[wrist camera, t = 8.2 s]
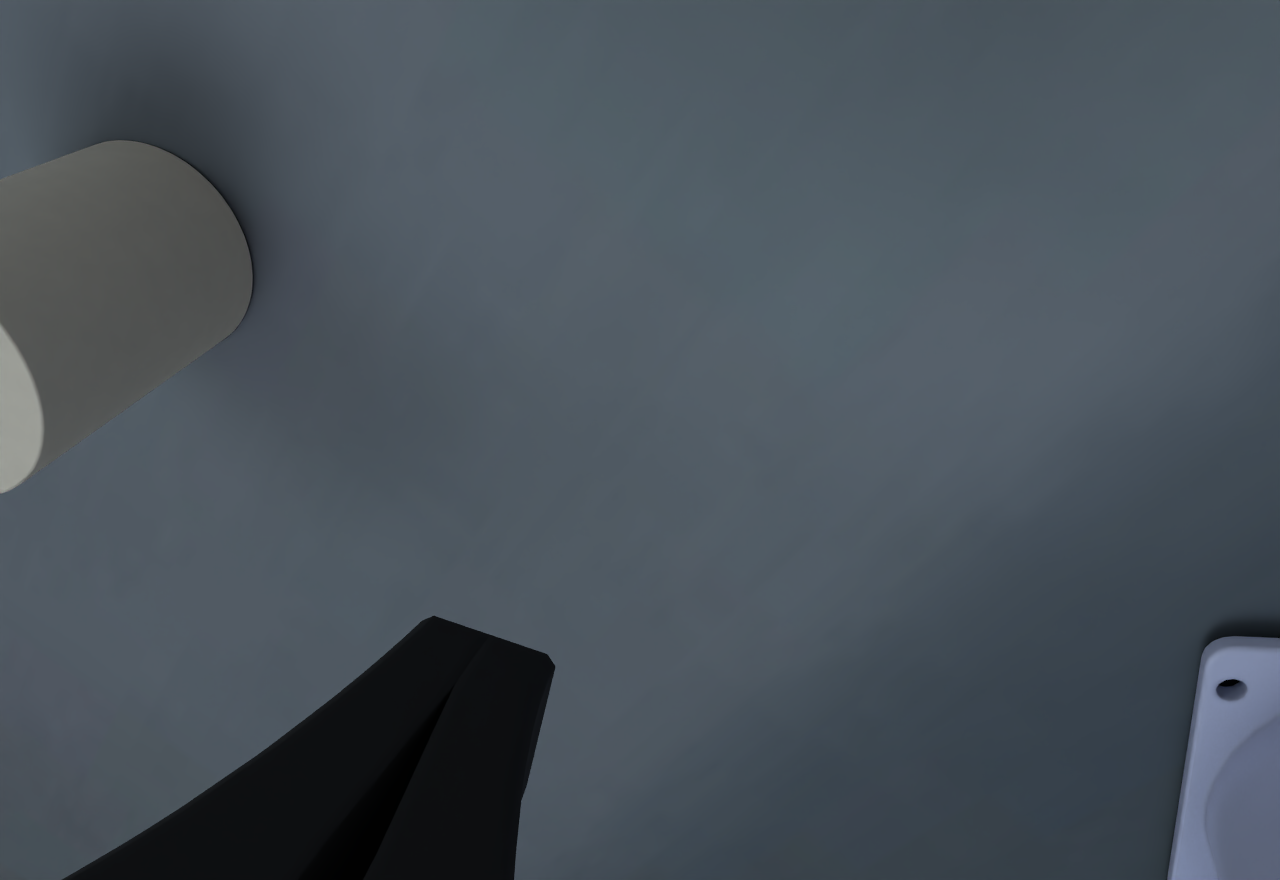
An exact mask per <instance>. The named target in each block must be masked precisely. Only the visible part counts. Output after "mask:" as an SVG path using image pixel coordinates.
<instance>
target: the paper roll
mask: <svg viewBox="0 0 1280 880" xmlns="http://www.w3.org/2000/svg"><path fill="white" fill-rule="evenodd" d="M252 282H253V274H252V263H251V258H250V253H249V249H248V246H247V242H246V239H245V236H244V234H243V232H242V229H241V227H240V225H239V223H238V221H237V219H236V217H235V216H234V214H233V212H232V210H231V209H230V207H229V206H228V204H227V203H226V201H225V200H224V199H223V197H222V196H221V195H220V193H219V192H218V191H217V190H216V189H215V188H214V187H213V185H212V184H211V183H210V182H209V181H208V180H207V179H206V178H205V177H203V176H202V175H201V174H200V173H199V172H198V171H197V170H195V169H194V168H193V167H191V166H190V165H189V164H188V163H186V162H185V161H183V160H181V159H180V158H178V157H176V156H175V155H173V154H171V153H169V152H167V151H165V150H163V149H160V148H158V147H155V146H152V145H149V144H145V143H140V142H135V141H126V140H115V141H106V142H102V143H99V144H95V145H92V146H90V147H87V148H84V149H82V150H79V151H76V152H73V153H71V154H68V155H65V156H63V157H60V158H57V159H54V160H52V161H49V162H46V163H44V164H41V165H38V166H35V167H33V168H30V169H27V170H25V171H22V172H19V173H16V174H14V175H11V176H8V177H6V178H3V179H0V494H1V493H4V492H7V491H10V490H12V489H13V488H15V487H17V486H19V485H20V484H22V483H23V482H24V481H26V480H27V479H29V478H30V477H31V476H33V475H34V474H36V473H37V472H38V471H40V470H41V469H43V468H44V467H46V466H47V465H48V464H50V463H51V462H53V461H54V460H55V459H57V458H58V457H60V456H61V455H62V454H64V453H65V452H67V451H68V450H69V449H71V448H72V447H74V446H75V445H76V444H78V443H79V442H81V441H82V440H83V439H85V438H86V437H88V436H89V435H90V434H92V433H93V432H95V431H96V430H97V429H99V428H100V427H102V426H103V425H104V424H106V423H107V422H109V421H110V420H112V419H113V418H114V417H116V416H117V415H119V414H120V413H121V412H123V411H124V410H126V409H127V408H128V407H130V406H131V405H133V404H134V403H135V402H137V401H138V400H140V399H141V398H142V397H144V396H145V395H147V394H148V393H149V392H151V391H152V390H154V389H155V388H156V387H158V386H159V385H161V384H162V383H163V382H165V381H166V380H168V379H169V378H170V377H172V376H173V375H175V374H176V373H178V372H179V371H180V370H182V369H183V368H185V367H186V366H187V365H189V364H190V363H192V362H193V361H194V360H196V359H197V358H199V357H200V356H201V355H203V354H204V353H206V352H207V351H208V350H210V349H211V348H213V347H214V346H215V345H217V344H218V343H220V342H221V341H222V340H224V339H225V338H226V337H228V336H229V335H230V334H231V333H232V332H233V331H234V330H235V329H236V328H237V326H238V325H239V324H240V323H241V321H242V319H243V317H244V315H245V314H246V311H247V308H248V305H249V303H250V298H251V293H252Z"/></svg>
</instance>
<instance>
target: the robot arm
mask: <svg viewBox="0 0 1280 880" xmlns="http://www.w3.org/2000/svg"><path fill="white" fill-rule="evenodd" d="M554 670H555V665H554V664H553V662H552V661H551V659H550V658H549V656H548V655H547V654H545V653H542V652H539V651H536V650H533V649H530V648H527V647H524V646H521V645H519V644H516V643H513V642H510V641H507V640H504V639H501V638H498V637H495V636H492V635H489V634H486V633H483V632H480V631H477V630H474V629H471V628H468V627H465V626H462V625H460V624H457V623H454V622H451V621H448V620H445V619H442V618H439V617H436V616H432V617H430V618H428V619H425V620H423V621H421V622H420V623H419V624H418V625H417V626H416V627H415V628H414V629H413V630H412V631H411V632H410V633H408V634H407V635H406V636H405V637H404V638H403V639H402V640H401V641H400V642H398V643H397V644H396V645H395V646H394V647H393V648H392V649H391V650H389V651H388V652H387V653H386V654H385V655H384V656H383V657H381V658H380V659H379V660H378V661H377V662H376V663H374V664H373V665H372V666H371V667H370V668H369V669H367V670H366V671H365V672H364V673H363V674H361V675H360V676H359V677H358V678H356V679H355V680H354V681H353V682H352V683H350V684H349V685H348V686H347V687H345V688H344V689H343V690H342V691H341V692H339V693H338V694H337V695H336V696H334V697H333V698H332V699H331V700H329V701H328V702H327V703H326V704H324V705H323V706H322V707H320V708H319V709H318V710H316V711H315V712H314V713H312V714H311V715H310V716H309V717H307V718H306V719H305V720H303V721H302V722H301V723H299V724H298V725H297V726H295V727H294V728H293V729H292V730H290V731H289V732H288V733H286V734H285V735H284V736H282V737H281V738H280V739H278V740H277V741H276V742H275V743H273V744H272V745H271V746H269V747H268V748H266V749H265V750H264V751H262V752H261V753H260V754H258V755H257V756H255V757H254V758H253V759H251V760H250V761H248V762H247V763H245V764H244V765H242V766H241V767H239V768H238V769H237V770H235V771H234V772H232V773H231V774H229V775H228V776H226V777H225V778H223V779H222V780H221V781H219V782H218V783H216V784H215V785H213V786H212V787H210V788H209V789H207V790H206V791H204V792H203V793H202V794H200V795H199V796H197V797H196V798H194V799H193V800H191V801H190V802H188V803H187V804H186V805H184V806H183V807H181V808H179V809H178V810H176V811H175V812H173V813H172V814H170V815H169V816H167V817H165V818H164V819H162V820H161V821H159V822H158V823H156V824H154V825H153V826H151V827H150V828H148V829H147V830H145V831H143V832H142V833H140V834H139V835H137V836H135V837H134V838H132V839H130V840H129V841H127V842H125V843H124V844H122V845H121V846H119V847H117V848H116V849H114V850H112V851H110V852H109V853H107V854H105V855H104V856H102V857H100V858H98V859H97V860H95V861H93V862H92V863H90V864H88V865H87V866H85V867H83V868H81V869H80V870H78V871H76V872H75V873H73V874H71V875H69V876H68V877H66V878H64V879H62V880H514V872H515V857H516V846H517V836H518V826H519V817H520V807H521V800H522V797H523V794H524V791H525V788H526V785H527V782H528V778H529V773H530V769H531V765H532V761H533V757H534V753H535V749H536V745H537V740H538V736H539V732H540V728H541V724H542V720H543V716H544V712H545V707H546V703H547V699H548V695H549V691H550V687H551V683H552V678H553V674H554ZM1230 679H1236V680H1240V682H1239V683H1237V684H1235V685H1234V686H1228V687H1223V686H1219V684H1220V683H1221V682H1223V681H1225V680H1230ZM1167 880H1280V638H1267V637H1245V636H1230V637H1222V638H1219V639H1217V640H1214V641H1212V642H1211V643H1210V644H1209V645H1208V646H1206V647H1205V649H1204V651H1203V653H1202V656H1201V662H1200V669H1199V675H1198V682H1197V688H1196V695H1195V701H1194V708H1193V714H1192V721H1191V727H1190V734H1189V740H1188V747H1187V753H1186V759H1185V766H1184V772H1183V779H1182V785H1181V792H1180V798H1179V805H1178V811H1177V818H1176V824H1175V831H1174V837H1173V844H1172V850H1171V857H1170V863H1169V870H1168V876H1167Z"/></svg>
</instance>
